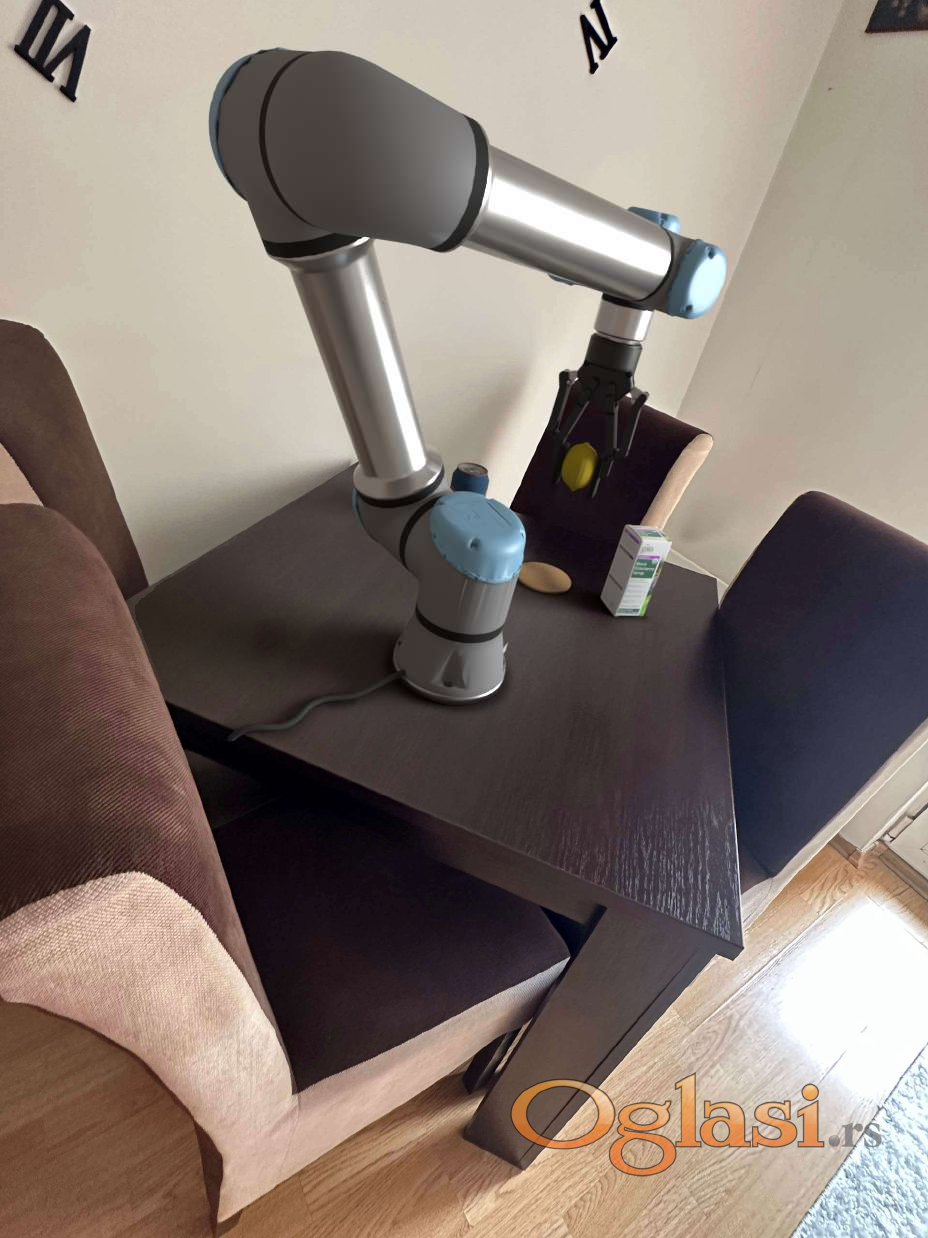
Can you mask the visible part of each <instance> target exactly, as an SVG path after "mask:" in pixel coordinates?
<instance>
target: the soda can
mask: <svg viewBox="0 0 928 1238" xmlns="http://www.w3.org/2000/svg"><path fill="white" fill-rule="evenodd" d="M488 473H489V470H488V469H487V468H486V467H485V466H483V465H481V464H478V463H475V462H467V461H465V462H460V463H459V462H458V464H457V467H456V468H455V469H454V470H453V472H452V475H451V480H450V484H449V487H450V488H451V490H452V491H453V492H458V491H465V492H473V493H478V494H482V495H484V496H485V498H487V493H488V489H489V484H490V478H489V475H488Z"/></svg>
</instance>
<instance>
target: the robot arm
mask: <svg viewBox="0 0 928 1238" xmlns="http://www.w3.org/2000/svg"><path fill="white" fill-rule="evenodd" d="M208 135H209V142H210V147H211V151H212V154H213V158H214V159H215V163H216V164H217V167H218V169H219V170H220V172H221V174H222V177H224V179H225V180H226V182H227V184H229V186H230V187H231V188H232V190H233V191H234V192H235V194H236V195H238V196H239V197H240V198H241V199H242V200H243V201H245V202H246V204H247V205H248V209H249V211H250V214H251V217H252V219H253V222H254V224H255V226H256V230H257V232H258V234H259V237H260V239H261V242H262V245H263V248H264V250H265V253H266V255H267V256H268V257H269V258H270V259H271V260H274V261H275V262H277V263H279V264H281V265H282V266H285V267H286V268H287V269H288V270H289V272H290V275H291V277H292V281H293V282H294V286H295V288H296V291H297V294H298V297H299V300H300V302H301V303H300V304H301V305H302V308H303V311H304V314H305V316H306V319H307V322H308V325H309V327H310V331H311V334H312V336H313V339H314V341H315V344H316V347H317V350H318V353H319V356H320V358H321V361H322V364H323V367H324V369H325V372H326V375H327V378H328V380H329V383H330V386H331V388H332V392H333V395H334V397H335V400H336V403H337V406H338V408H339V411H340V413H341V417H342V419H343V422H344V425H345V428H346V430H347V433H348V436H349V439H350V441H351V444H352V447H353V450H354V453H355V455H356V458H357V461H358V464H357V466H355V469H354V472H353V476H352V479H353V480H352V481H353V486H354V488H353V489H352V497H351V501H352V508H353V513H354V515H355V517H356V519H357V521H358V523H359V524H360V526H361V527H362V529H363V530H364V532H365V533H366V534H367V535H368V536H369V537H370V538H371V539H372V540H373V541H375V542H376V543H377V544H379V545H380V546H382V548H384V549H385V550H386V551H387V553H389V554H390V555H391V556H392V557H393V558H394V559H396V561H398V562H399V563H400V564H401V565H402V566H403V567H404V568H405V569H406V570H407V571H408V572H410V573H411V574H412V576H414V578H415V579H417V581H418V583H419V584H418V591H417V597H416V603H415V608H414V612H413V614H412V615H411V618H410V619H409V621H408V622H407V624H406V625H405V627H404V628H403V631H402V633H401V634H400V635H399V637H398V639H397V641H396V643H395V646H394V649H393V654H392V668H393V672H394V673H392V674H389V675H387V676H384V677H382V678H381V679H379V680H376V681H375V682H373V683H371V684H369V685H368V686H365V687H363V688H361V689H359V690H357V691H353V692H349V693H341V694H329V695H328V694H327V695H322V696H319V697H316V698H314V699H312V700H310V701H309V702H307V703H306V704H305V705H304V706H302V708H301V709H300V710H299V711H298V712H297V713H296V714H295V715H294V716H292V717H290V719H288V720H286V721H283V722H278V723H250V724H246V725H242V726H240V727H239V728H237V729H235V730H234V731H232V733H231V734H229V736H227V738H226V741H228V742H233V741H236V740H237V739H238V738H240V737H241V736H243V735H244V734H247V733H251V732H278V731H279V732H280V731H283V730H287V729H290V728H291V727H293V726H295V725H296V724H297V723H299V722H300V721H301V720H302V719H303V718H304V717H305V716H306V715H307V714H308V713H309V712H310V710H312V709H313V708H315V707H316V706H318V705H321V704H326V703H331V702H345V701H351V700H355V699H358V698H361V697H363V696H366V695H368V694H370V693H372V692H373V691H375V690H377V689H379V688H381V687H382V686H385V685H387V684H389V683H391V682H393V681H395V680H397V679H398V680H399V681H400V682H401V683H402V684H403V686H404V687H406V688H407V689H408V690H410V691H411V692H412V693H413V694H416V695H418V696H420V697H421V698H422V699H423V698H424V699H426V700H429V701H431V702H435V703H439V704H442V705H448V706H449V705H450V706H470V705H475V704H479V703H483V702H485V701H487V700H489V699H491V698H492V697H494V696H495V695H496V694H497V693H498V692H499V690H500V689H501V688H502V685H503V682H504V679H505V675H506V668H507V664H506V662H507V661H506V657H505V652H506V650H507V647H508V643H509V642H507V643H506V644H505V645H504V635H503V634H504V633H503V631H504V627H505V623H506V621H507V616H508V613H509V610H510V606H511V602H512V598H513V596H514V592H515V589H516V585H517V582H518V575H519V572H520V569H521V567H522V563H524V552H525V547H526V540H527V537H526V536H527V534H526V530H525V527H524V525H523V522H522V521H521V519H520V518H519V516H518V515H517V514H516V513H515V512H514V511H513V510H512V509H511V508H509V507H508V506H507V505H506V504H504V503H502V502H501V501H499V500H496V499H495V498H487V497H486V498H485V496H484V495H482V494H478V493H473V492H465V491H458V492H453V491H452V490H451V488H450V484H449V482H448V477H447V474H446V469H445V466H444V462H443V457H442V455H441V452H439V450H438V449H437V448H436V447H434V446H433V445H431V444H429V443H426V440H425V436H424V432H423V429H422V425H421V420H420V417H419V413H418V410H417V407H416V402H415V398H414V395H413V390H412V387H411V382H410V378H409V375H408V371H407V368H406V363H405V359H404V355H403V353H402V352H403V351H402V347H401V344H400V341H399V337H398V332H397V329H396V325H395V321H394V317H393V314H392V313H393V312H392V310H391V306H390V302H389V298H388V294H387V290H386V286H385V283H384V279H383V275H382V271H381V267H380V263H379V260H378V255H377V251H376V248H375V241H376V240H382V241H387V242H393V243H399V244H400V243H401V244H405V245H411V246H415V247H419V248H422V249H426V250H429V251H432V252H435V253H439V254H447V253H451V252H454V251H455V250H457V249H458V248H460V247H463V248H467V249H470V250H473V251H475V252H479V253H481V254H485V255H487V256H490V257H494V258H497V259H501V260H504V261H506V262H510V263H513V264H516V265H519V266H521V267H525V268H528V269H531V270H534V271H538V272H540V273H543V274H546V275H547V276H548V277H549V278H550V279H551V280H552V281H555V282H558V283H562V284H565V285H567V286H571V287H572V286H580V287H584V288H587V289H591V290H594V291H597V292H600V293H602V294H601V298H600V301H599V305H598V309H597V312H596V315H595V319H594V322H593V329H594V330H595V331H596V332H593V333H592V334H591V335H590V338H589V341H588V345H587V349H586V353H585V356H584V360H583V363H582V364H581V365H580V367H579V368H578V369H572V370H570V369H569V368H564V369H563V370H561V371H560V372H559V373H558V390H557V394H556V397H555V400H554V402H553V407H552V409H551V413H550V416H549V420H548V422H547V426H546V430H545V436H546V437H548V438H551V439H552V440H553V442H554V445H553V449H552V453H551V456H550V462H551V463H552V464H555V466H554V469H553V474H552V477H551V480H550V483H549V486H553V487H555V486H557V484H559V482H560V480H561V478H562V475H561V468H562V463H563V460H564V458H565V456H566V454H567V452H568V451H569V449H570V445H571V444H570V442H567V441H566V440H567V439H568V437H569V436H570V434H571V432H572V431H573V429H574V427H575V426H576V424H577V423H578V421H579V419H580V418H581V416H582V414H583V412H584V411H585V410H586V408H587V406H588V405H589V403H594V404H599V405H600V406H602V407H604V408H605V444H604V445H605V447H604V453H602V454H601V456H599V457H598V464H597V467H596V470H595V473H594V477H593V480H592V482H591V483H590V487H589V490H588V493H587V496H586V497H587V498H588V499H591V500H592V499H593V498H594V497H595V495H596V493H597V491H598V488H599V483H600V481H601V480H602V479H603V480H606V479H607V477H608V476H609V475H610V472H611V469H612V466H613V463H614V460H624V459H626V457H627V456H628V455H629V452H630V449H631V446H632V442H633V438H634V436H635V432H636V428H637V425H638V423H639V418H640V415H641V412H642V408H643V406H644V405H645V404H646V402H647V401H648V400H649V398H650V393H649V392H648V391H643V390H641V388H639V387H637V386H636V382H635V373H636V370H637V367H638V365H639V361H640V358H641V355H642V352H643V345H642V343H641V342H643V341H644V342H645V340H646V339H647V336H648V333H649V330H650V328H651V327H650V326H651V323H652V320H653V316H654V314H655V311H657V312H660V313H663V314H665V315H667V316H669V317H673V318H674V317H677V318H681V319H685V320H695V319H698V318H700V317H702V316H704V315H705V314H707V312H708V311H709V310H710V309H711V308H712V307H713V306H714V304H715V303H716V301H717V300H718V298H719V296H720V293H721V290H722V287H723V286H724V284H725V281H726V276H727V270H728V269H727V268H728V267H727V266H728V265H727V264H728V263H727V259H726V256H725V253H724V250H723V249H721V247H719V246H717V244H716V245H715V244H712V243H710V242H706V241H704V240H703V239H701V238H696V239H694V238H691V237H687V236H683V235H681V234H679V233H680V229H681V221H680V219H679V217H677V216H676V215H674V214H671V213H666V212H661V211H657V210H652V209H648V208H644V207H638V206H629V207H628V208H624V207H622V206H620V205H618V204H616V203H613V202H612V201H609V200H607V199H605V198H604V197H601V196H599V195H597V194H595V193H593V192H590V191H588V190H586V189H584V188H582V187H580V186H579V185H577V184H574V183H572V182H570V181H568V180H566V179H564V178H561V177H559V176H557V175H555V174H553V173H551V172H548V171H546V170H544V169H542V168H540V167H538V166H536V165H534V164H532V163H531V162H530V163H529V162H528V161H526V160H523V159H522V158H520V157H517V156H515V155H513V154H511V153H510V152H509V153H508V152H507V151H504V150H502V149H500V148H498V147H497V146H494V145H492V144H490V140H489V137H488V134H487V132H486V130H485V128H484V127H483V125H482V124H481V123H480V122H479V121H477V120H476V119H474V118H472V117H470V116H468V115H466V114H464V113H462V112H460V111H459V110H457V109H455V108H453V107H451V106H449V105H448V104H446V103H444V102H442V101H441V100H439V99H437V98H436V97H434V96H432V95H430V94H429V93H427V92H426V91H423V90H422V89H420V88H418V87H416V86H415V85H414V84H412V83H409V82H408V81H406V80H404V79H403V78H401V77H399V76H398V75H396V74H394V73H392V72H390V71H389V70H387V69H385V68H383V67H381V66H379V65H377V64H376V63H374V62H372V61H370V60H368V59H366V58H363V57H362V56H361V57H360V56H357V55H354V54H351V53H348V52H344V51H340V50H329V49H328V50H315V51H310V50H296V49H290V48H286V47H281V46H279V47H278V46H277V47H273V48H269V49H260V50H257V52H253V53H250V54H247V55H244V56H243V57H241V58H239V59H237V60H236V61H234V62H233V63H232V64H231V65H230V66H228V67H227V68H226V70H225V71H224V73H223V74H222V76H221V77H220V78H219V80H218V82H217V84H216V86H215V89H214V91H213V94H212V99H211V101H210V105H209V110H208ZM576 379H577V380H578V383H579V386H580V390H581V392H582V393H581V394H580V396H579V397H578V399H577V400H578V401H576V403H575V406H574V407H573V409H572V411H570V414H569V415H568V417H567V419H566V421H565V422H564V424H563V425H562V427H561V429H559V426H560V423H561V421H562V420H561V419H562V416H563V413H564V410H565V407H566V403H567V401H568V397H569V394H570V390H571V387H572V386H573V385H574V384H575V383H576ZM628 394H630V396H631V397H630V401H629V402H630V404H631V408H630V411H629V414H628V418H627V420H626V424H625V428H624V431H623V435H622V438H621V442H620V446H619V448H617V440H618V439H617V437H618V411H619V401H621V400H622V399H623V398H625V397H626V396H627V395H628Z"/></svg>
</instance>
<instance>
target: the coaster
mask: <svg viewBox="0 0 928 1238" xmlns="http://www.w3.org/2000/svg"><path fill="white" fill-rule="evenodd" d="M517 581H518V582H520V583H521V584H523V585H524V586H526V587H527V588H529V589H532V590H534V591H536V592H540V593H545V594H551V595H553V594H555V595H556V594H557V595H558V594H563V593H566V592H567V591H569V589H570V588H571V586H572V580H571V578H570V576H569V575H568V574H567V573H566V572H564V571H563V570H562V569H560V568H558V567H556V566H554V565H551V564H549V563H544V562H540V561H539V562H538V561H528V562H527V561H526V562H522V567H521V569H520V572H519V575H518V579H517Z"/></svg>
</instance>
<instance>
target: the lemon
mask: <svg viewBox="0 0 928 1238" xmlns="http://www.w3.org/2000/svg"><path fill="white" fill-rule="evenodd" d="M598 461H599V457H598V452H597V451H596V449H594V447H592V446H591V445H590V443H589V442H583V443H578V444H575V445H573V446H572V447H570V448H569V449H568V452H567V454H566V456H565V458H564V460H563V463H562V468H561V478H562V481H563V482H564V483H565V485H567V486H568V487H569V489H570V491H572V492H575V491H577V490H579V489H584V488H585V487H587V486H589V485H591V483H592V480H593V477H594V473H595V470H596V467H597V464H598Z"/></svg>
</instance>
